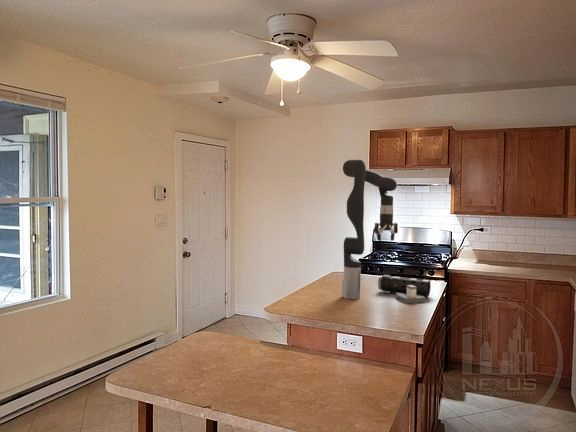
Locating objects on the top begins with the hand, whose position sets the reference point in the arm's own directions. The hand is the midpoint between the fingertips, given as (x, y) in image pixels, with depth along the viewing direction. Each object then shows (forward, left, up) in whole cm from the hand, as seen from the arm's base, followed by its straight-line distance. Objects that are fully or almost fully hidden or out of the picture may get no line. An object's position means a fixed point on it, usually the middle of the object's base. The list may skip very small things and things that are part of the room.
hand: (385, 240), depth 254 cm
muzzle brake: (+7, -10, -30) cm, 33 cm away
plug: (+3, -23, -30) cm, 38 cm away
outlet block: (+3, -23, -30) cm, 38 cm away
